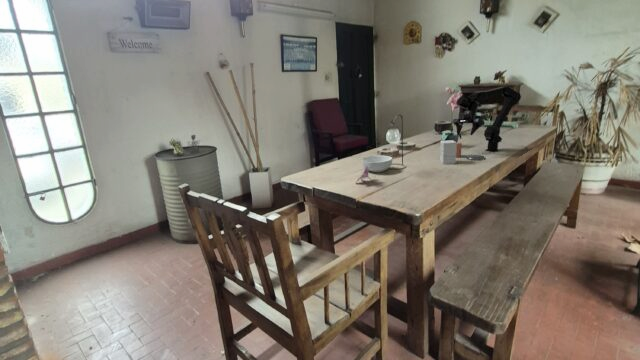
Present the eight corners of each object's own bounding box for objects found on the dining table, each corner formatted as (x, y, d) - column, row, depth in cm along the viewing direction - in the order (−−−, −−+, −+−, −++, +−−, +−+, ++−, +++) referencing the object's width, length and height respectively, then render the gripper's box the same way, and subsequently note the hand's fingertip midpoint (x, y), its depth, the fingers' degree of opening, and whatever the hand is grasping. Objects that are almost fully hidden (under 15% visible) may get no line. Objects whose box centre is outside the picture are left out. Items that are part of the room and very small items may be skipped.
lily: (372, 180, 179) (362, 164, 178) (385, 176, 169) (375, 159, 168) (356, 191, 174) (347, 176, 173) (369, 188, 163) (359, 171, 162)
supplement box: (452, 160, 202) (453, 139, 199) (455, 163, 195) (456, 142, 192) (439, 161, 203) (440, 140, 200) (442, 164, 196) (443, 142, 193)
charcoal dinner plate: (473, 155, 211) (473, 154, 211) (487, 158, 203) (488, 156, 202) (462, 158, 206) (462, 156, 206) (477, 161, 198) (477, 159, 198)
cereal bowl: (374, 165, 203) (374, 153, 201) (398, 169, 192) (398, 157, 190) (356, 171, 192) (356, 159, 190) (380, 176, 181) (380, 163, 179)
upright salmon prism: (454, 155, 214) (455, 142, 212) (460, 156, 211) (461, 143, 208) (450, 156, 212) (450, 143, 210) (456, 157, 209) (456, 144, 206)
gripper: (450, 106, 212) (443, 130, 212) (478, 105, 197) (470, 130, 196) (461, 113, 218) (454, 136, 217) (488, 112, 203) (480, 137, 202)
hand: (464, 135), depth 208 cm, fingers open, 9 cm apart
